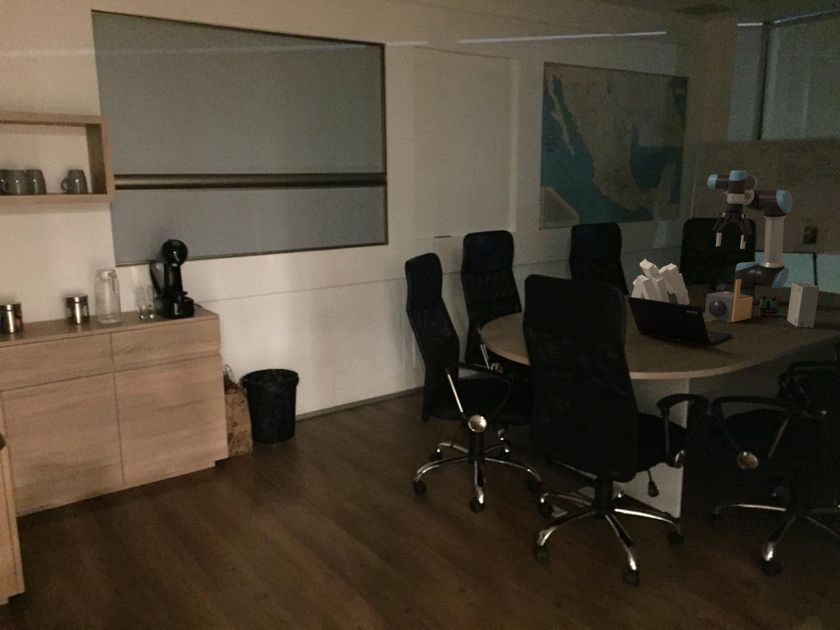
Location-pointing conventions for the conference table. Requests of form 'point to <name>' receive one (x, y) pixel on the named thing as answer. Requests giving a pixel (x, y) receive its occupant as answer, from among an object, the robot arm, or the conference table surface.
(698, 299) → the conference table surface
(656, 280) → the pile of blocks
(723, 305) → the grey box with knob
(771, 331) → the conference table surface
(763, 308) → the binoculars
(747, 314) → the bent orange bar
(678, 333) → the laptop
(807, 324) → the hard drive box
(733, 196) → the robot arm
